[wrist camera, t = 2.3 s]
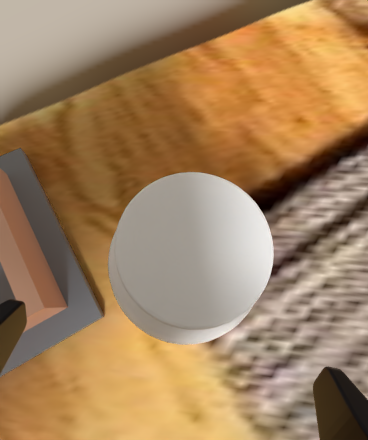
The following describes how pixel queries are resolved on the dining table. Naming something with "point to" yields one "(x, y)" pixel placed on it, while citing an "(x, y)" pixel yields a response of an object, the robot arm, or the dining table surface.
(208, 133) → the dining table surface
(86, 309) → the bottle stand
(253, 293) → the pill bottle
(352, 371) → the dining table surface
